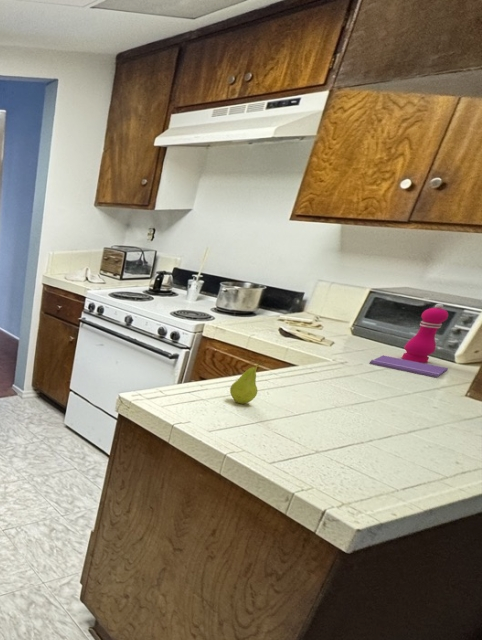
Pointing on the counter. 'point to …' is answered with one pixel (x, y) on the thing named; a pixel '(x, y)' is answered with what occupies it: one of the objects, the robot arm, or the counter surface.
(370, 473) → the counter surface
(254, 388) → the fruit
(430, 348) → the pepper mill
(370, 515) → the counter surface
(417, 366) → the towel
